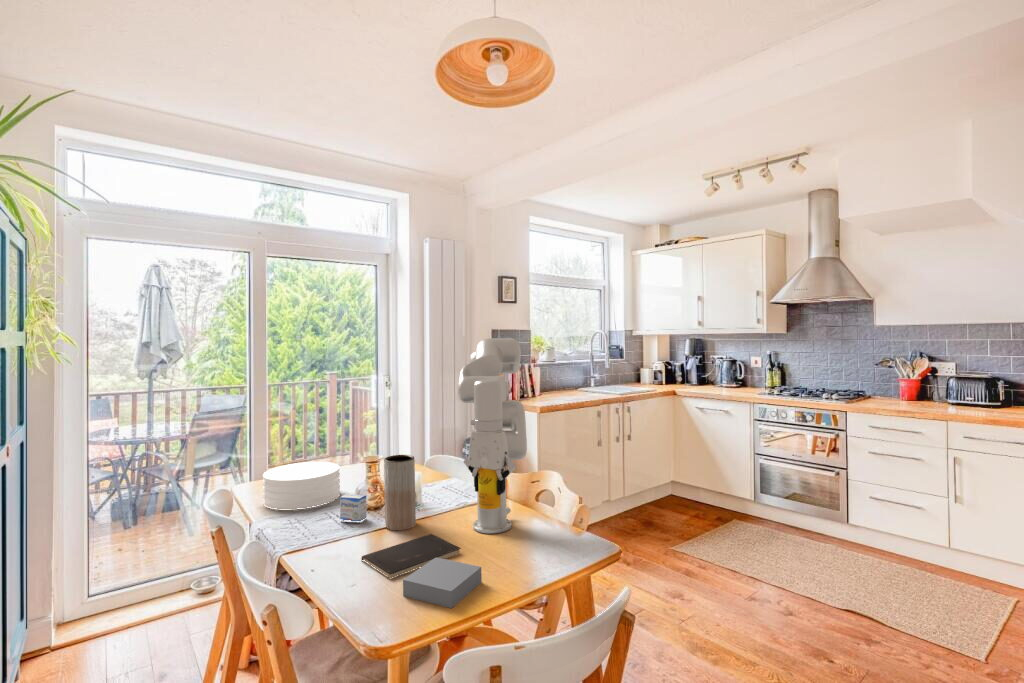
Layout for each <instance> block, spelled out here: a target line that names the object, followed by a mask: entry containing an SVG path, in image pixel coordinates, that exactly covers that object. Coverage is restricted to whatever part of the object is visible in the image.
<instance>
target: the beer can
mask: <svg viewBox="0 0 1024 683" xmlns="http://www.w3.org/2000/svg"><path fill="white" fill-rule="evenodd" d="M497 480H499V478H498V475H497V473H496V470H490V469H488V459H487V458H485V457H482V459H480V468H479V469H478V492H479V507H480V508H481V510H482V511H486V512H493V511H497V510H499V508H500V507H501V495H498V494H497Z"/></svg>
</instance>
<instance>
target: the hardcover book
mask: <svg viewBox="0 0 1024 683" xmlns="http://www.w3.org/2000/svg"><path fill="white" fill-rule="evenodd" d="M461 549H462V548H461V547H459V546H458V545H455V544H453V543H452V542H449V541H447V540H445V539H443V538H441V537H439V536H437V535H435V534H432V533H429V534H426V535H423V536H420V537H417V538H413V539H411V540H407V541H404V542H402V543H398V544H395V545H392V546H389V547H385V548H383V549H379V550H377V551H374V552H370V553H368V554H364V555H362V556H361V561H362V560H365V561H366V562H368V563H369V564H370V565H372V566H373V567H375V568H376V569H378V570H379V571H381V572H382V573H384V574H385V575H387V576H388V577H389V578H392V577H395V576H397V575H400V574H402V573H405V572H408V571H411V570H413V569H416V568H419V567H422V566H424V565H425V564H427V563H428V562H430V561H431V560H433V559H434V558H436V557H437V558H442V559H445V558H446V559H448V557H449V558H451V557H450V556H452V557H454V556H453V555H455V556H457V555H460V550H461ZM456 554H457V555H456ZM411 572H412V571H411ZM408 573H409V572H408ZM385 575H384V576H385ZM400 576H401V575H400ZM388 577H387V578H388ZM389 578H388V579H389ZM395 578H396V577H395ZM392 579H393V578H392Z"/></svg>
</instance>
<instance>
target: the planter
mask: <svg viewBox="0 0 1024 683" xmlns="http://www.w3.org/2000/svg"><path fill="white" fill-rule="evenodd" d="M415 461H416V460H415V456H414V455H411V454H396V455H389V456H386V457H384V458H383V477H384V478H383V479H384V480H383V481H384V482H383V484H384V517H385V518H384V520H385V521H384V523H385V525H384V526H385V528H386V527H387V528H388V530H389V529H390V530H389V531H395V530H399V531H405V530H409V529H411V528H414V526H416V523H417V520H416V519H417V516H416V514H417V512H416V510H417V509H416V474H415V472H416V468H415V467H416V466H415V464H416V463H415ZM387 528H386V529H387Z"/></svg>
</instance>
